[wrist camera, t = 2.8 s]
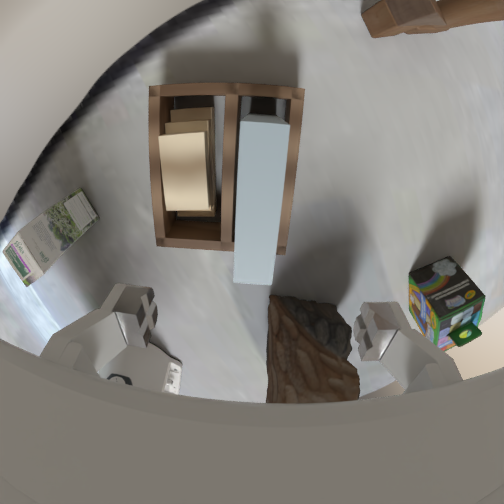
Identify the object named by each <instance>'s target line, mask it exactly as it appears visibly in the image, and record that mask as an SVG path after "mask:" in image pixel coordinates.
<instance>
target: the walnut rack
mask: <svg viewBox="0 0 504 504" xmlns="http://www.w3.org/2000/svg"><path fill="white" fill-rule="evenodd" d="M304 93H305V89H303V88H295V87H287V86H277V85H265V84H250V83H183V84H168V85H156V86H149V161H150V180H151V194H152V206H153V217H154V227H155V236H156V245H157V246H161V247H175V248H190V249H204V250H218V251H233V252H234V247H235V214H236V191H237V170H238V151H239V132H240V115H241V99H242V96H249V97H265V98H276V99H286V111H285V122H287V123H288V124H289V125H290V132H289V142H288V152H287V162H286V171H285V180H284V189H283V198H282V207H281V216H280V224H279V232H278V240H277V249H276V254H277V255H285V253H286V246H287V239H288V232H289V225H290V217H291V210H292V202H293V194H294V186H295V178H296V170H297V161H298V153H299V143H300V134H301V125H302V115H303V104H304ZM175 96H226V97H225V116H224V138H223V165H222V201H221V222H205V221H186V220H176V211H166V204H165V196H164V188H163V179H162V170H161V160H160V149H159V137H158V136H160V135H163V134H166V133H165V123H169V122H171V110H174V97H175Z"/></svg>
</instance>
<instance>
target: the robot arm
mask: <svg viewBox="0 0 504 504" xmlns="http://www.w3.org/2000/svg"><path fill="white" fill-rule="evenodd" d="M154 296H155V295H154V291H153V289H152V288H150V287H143V286H136V285H130V284H129V285H128V284H122V283H117V284H115V285H114V287H113V289H112V290H111V292H110V293H109V295H108V296H107V298H106V300H105V301H104V303H103V305H102V306H101V308H100V309H95V310H94V311H92V312H90V313H88V314H87V315H85V316H83V317H82V318H80V319H78V320H76V321H75V322H73V323H71V324H70V325H68V326H66V327H64V328H63V329H61V330H59V331H58V332H56V333H54V334H53V335H52V337H51V338H50V340H49V341H48V343H47V345H46V346H45V348H44V350H43V351H42V353H41V355H40V357H39V356H37V355H35V354H32V353H30V352H28V351H25V350H23V349H21V348H19V347H16V346H14V345H12V344H10V343H8V342H6V341H4V340H2V339H0V504H504V367H503V368H500V369H497V370H495V371H492V372H489V373H486V374H483V375H480V376H477V377H474V378H470V379H467V380H463V379H462V377H461V375H460V373H459V371H458V368H457V366H456V364H455V362H454V360H453V358H451V357H450V356H449V355H448V354H446V353H445V352H444V351H443V350H441V349H440V348H439V347H437V346H436V345H435V344H434V343H432V342H431V341H430V340H428V339H427V338H426V337H424V336H423V335H422V334H421V333H419V332H418V331H417V330H415V329H411V326H410V324H409V322H408V320H407V318H406V316H405V314H404V312H403V311H402V309H401V307H400V305H399V303H398V302H364V303H363V304H362V305H361V308H360V311H361V314H360V315H359V316H358V317H356V320H355V323H354V329H353V331H354V337H355V340H356V341H357V342H358V343H359V344H360V345H359V347H358V351H359V355H360V358H361V361H378V360H380V362H381V364H382V365H383V366H384V367H385V368H386V369H387V370H388V371H389V372H390V374H391V375H392V376H393V377H394V378H395V379H396V380H397V381H398V382H399V384H400V385H401V386H402V387H403V388H404V389H405V391H404V393H403V394H401V395H395V396H388V397H381V398H374V399H365V400H355V401H343V402H328V403H298V404H282V403H251V402H236V401H225V400H215V399H206V398H198V397H191V396H184V395H179V390H180V382H181V373H182V364H181V363H180V362H179V361H177V360H175V359H173V358H171V357H169V356H168V355H166V354H165V353H164V352H163V351H162V350H161V349H159V348H158V347H156V346H155V345H153V344H151V343H149V340H150V338H151V333H150V330H151V329H153V328H154V327H155V325H156V322H157V315H158V313H157V305H156V304H155V302H154V301H153V298H154ZM98 371H99V372H98Z"/></svg>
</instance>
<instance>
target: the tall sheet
mask: <svg viewBox="0 0 504 504" xmlns="http://www.w3.org/2000/svg"><path fill="white" fill-rule="evenodd" d="M289 132H290V125H289V124H288V123H287V122H285V121H284V120H282V119H281V118H280V117H278V116H277V115H268V114H255V113H249V114H248V115H247V116H246V117H245V118H243V119H242V120H241V121H240V138H239V157H238V176H237V198H236V221H235V247H234V276H233V283H245V284H260V285H272V279H273V272H274V264H275V256H276V249H277V240H278V232H279V224H280V216H281V207H282V198H283V189H284V180H285V171H286V162H287V152H288V142H289Z"/></svg>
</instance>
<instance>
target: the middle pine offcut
mask: <svg viewBox="0 0 504 504" xmlns="http://www.w3.org/2000/svg"><path fill="white" fill-rule="evenodd" d="M206 130H207V131H208V153H209V172H210V189H211V205H210V207H209V209H206V210H173V211H211V210H212V207H213V205H214V196H213V168H212V120H211V119H208V120H189V121H176V122H169V123H165V133H166V134H169V133H179V132H191V131H206Z"/></svg>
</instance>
